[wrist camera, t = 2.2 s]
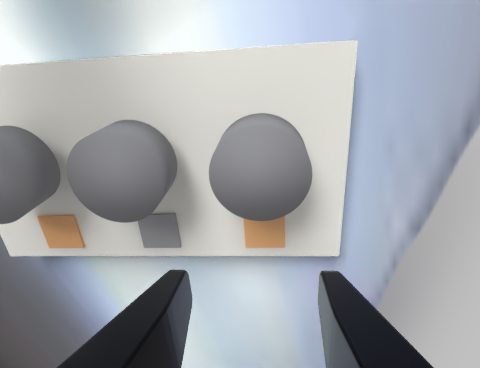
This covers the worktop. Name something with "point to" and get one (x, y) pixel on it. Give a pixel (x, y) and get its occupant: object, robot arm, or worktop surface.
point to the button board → (187, 145)
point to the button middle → (122, 170)
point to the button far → (24, 173)
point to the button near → (260, 168)
